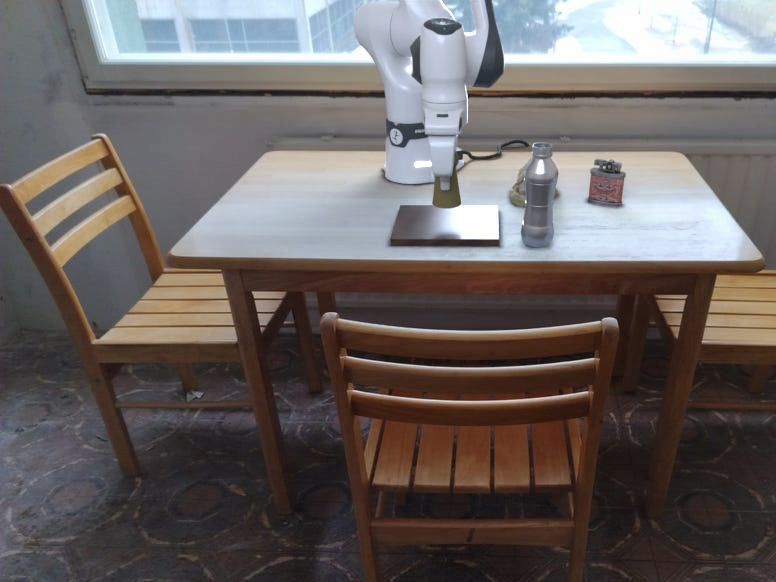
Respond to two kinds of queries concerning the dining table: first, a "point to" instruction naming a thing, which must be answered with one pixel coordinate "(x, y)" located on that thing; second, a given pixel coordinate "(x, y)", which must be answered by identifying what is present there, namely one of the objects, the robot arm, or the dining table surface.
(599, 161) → the lighter
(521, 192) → the ceramic model
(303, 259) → the dining table surface
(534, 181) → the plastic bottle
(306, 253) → the dining table surface
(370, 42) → the robot arm
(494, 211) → the walnut board
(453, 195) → the olive tapered cylinder
